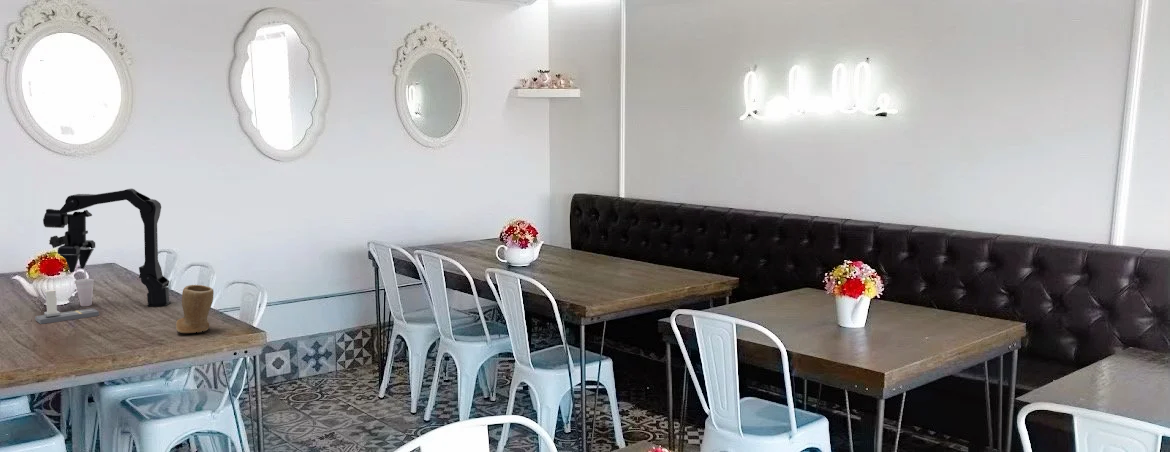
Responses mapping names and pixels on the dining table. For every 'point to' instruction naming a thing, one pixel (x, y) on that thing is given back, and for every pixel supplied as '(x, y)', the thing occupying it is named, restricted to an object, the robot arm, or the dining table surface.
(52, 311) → the fader
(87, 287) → the smoothie
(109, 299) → the dining table surface
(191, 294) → the tan boot
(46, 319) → the fader board
